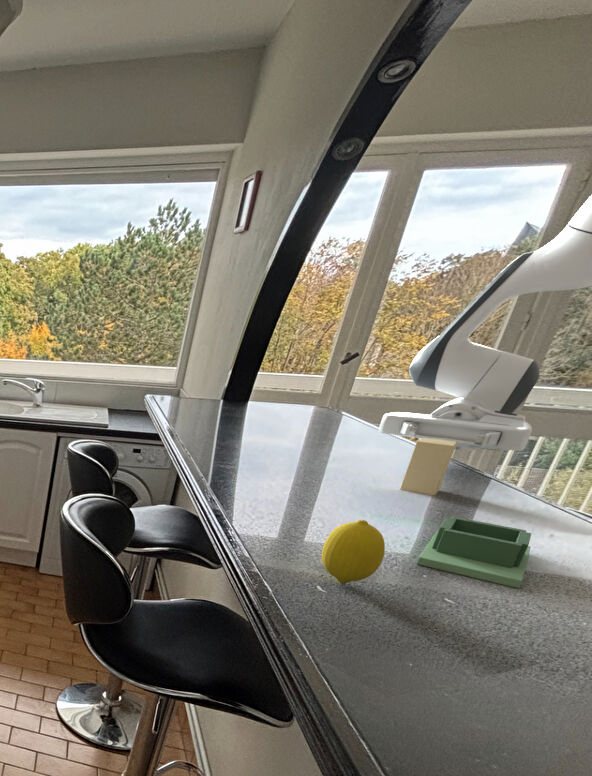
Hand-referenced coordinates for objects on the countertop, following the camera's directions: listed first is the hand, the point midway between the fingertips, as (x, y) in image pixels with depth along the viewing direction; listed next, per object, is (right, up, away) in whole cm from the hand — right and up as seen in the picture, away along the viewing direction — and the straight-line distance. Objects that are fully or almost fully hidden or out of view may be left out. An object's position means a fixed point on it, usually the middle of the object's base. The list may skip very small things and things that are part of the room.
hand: (445, 435), depth 105 cm
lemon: (-46, -24, -35) cm, 63 cm away
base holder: (-23, -21, -28) cm, 42 cm away
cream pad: (-9, -12, -4) cm, 15 cm away
